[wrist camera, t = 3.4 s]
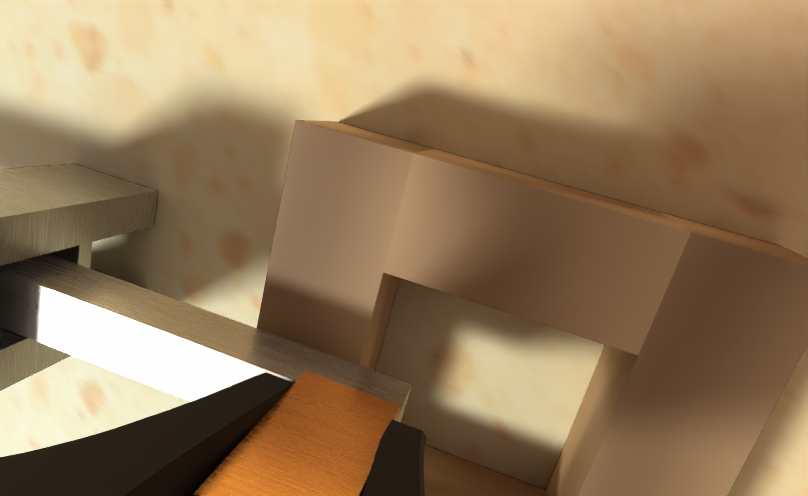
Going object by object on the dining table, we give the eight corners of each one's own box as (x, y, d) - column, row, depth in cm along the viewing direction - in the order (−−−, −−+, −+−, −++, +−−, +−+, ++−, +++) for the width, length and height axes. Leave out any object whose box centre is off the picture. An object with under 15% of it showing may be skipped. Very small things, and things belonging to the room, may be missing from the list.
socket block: (779, 245, 12) (843, 274, 9) (608, 600, 15) (623, 690, 12) (336, 121, 13) (295, 119, 11) (265, 461, 16) (221, 517, 14)
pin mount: (157, 191, 15) (-32, 223, 10) (142, 319, 16) (-33, 407, 11) (73, 163, 16) (-149, 180, 10) (64, 290, 17) (-140, 362, 12)
